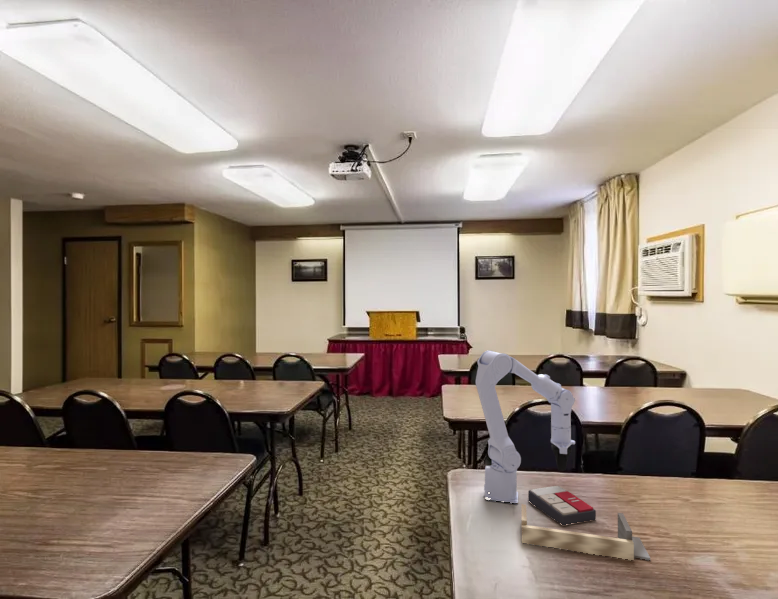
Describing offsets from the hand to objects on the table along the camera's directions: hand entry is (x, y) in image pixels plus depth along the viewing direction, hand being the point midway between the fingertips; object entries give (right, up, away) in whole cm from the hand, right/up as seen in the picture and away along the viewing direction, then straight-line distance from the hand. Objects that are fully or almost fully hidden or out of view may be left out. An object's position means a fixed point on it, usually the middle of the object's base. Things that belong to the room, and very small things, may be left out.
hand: (561, 469), depth 132 cm
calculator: (-6, -7, -13) cm, 15 cm away
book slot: (-7, -6, -29) cm, 30 cm away
